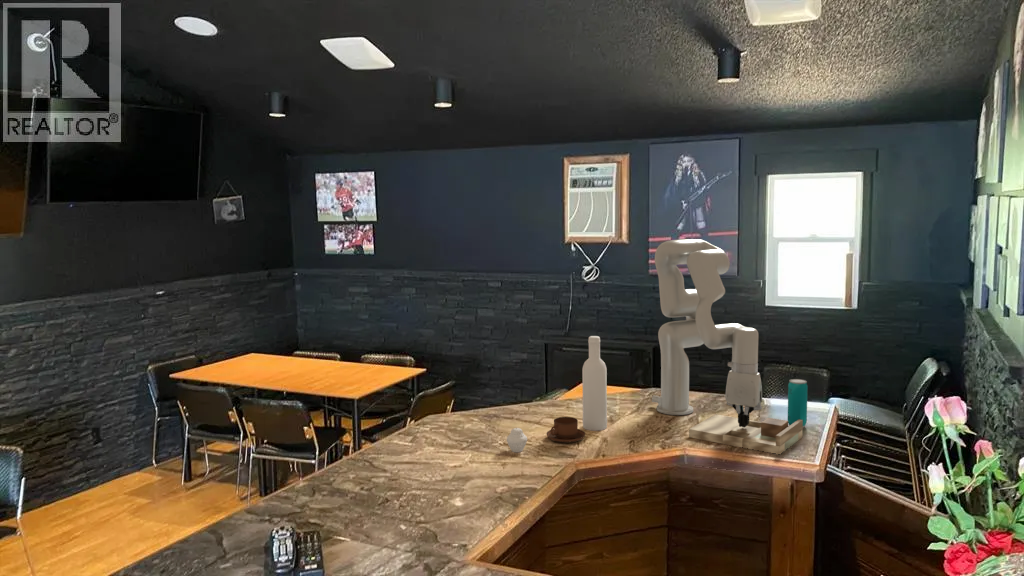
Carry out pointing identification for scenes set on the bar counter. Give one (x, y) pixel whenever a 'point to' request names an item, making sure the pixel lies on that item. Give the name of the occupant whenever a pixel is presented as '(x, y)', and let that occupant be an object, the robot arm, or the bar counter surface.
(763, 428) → the walnut block
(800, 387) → the beverage can
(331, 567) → the bar counter surface
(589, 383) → the bottle
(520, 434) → the grey lidded jar
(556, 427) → the cup and saucer
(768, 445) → the trap board
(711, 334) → the robot arm
